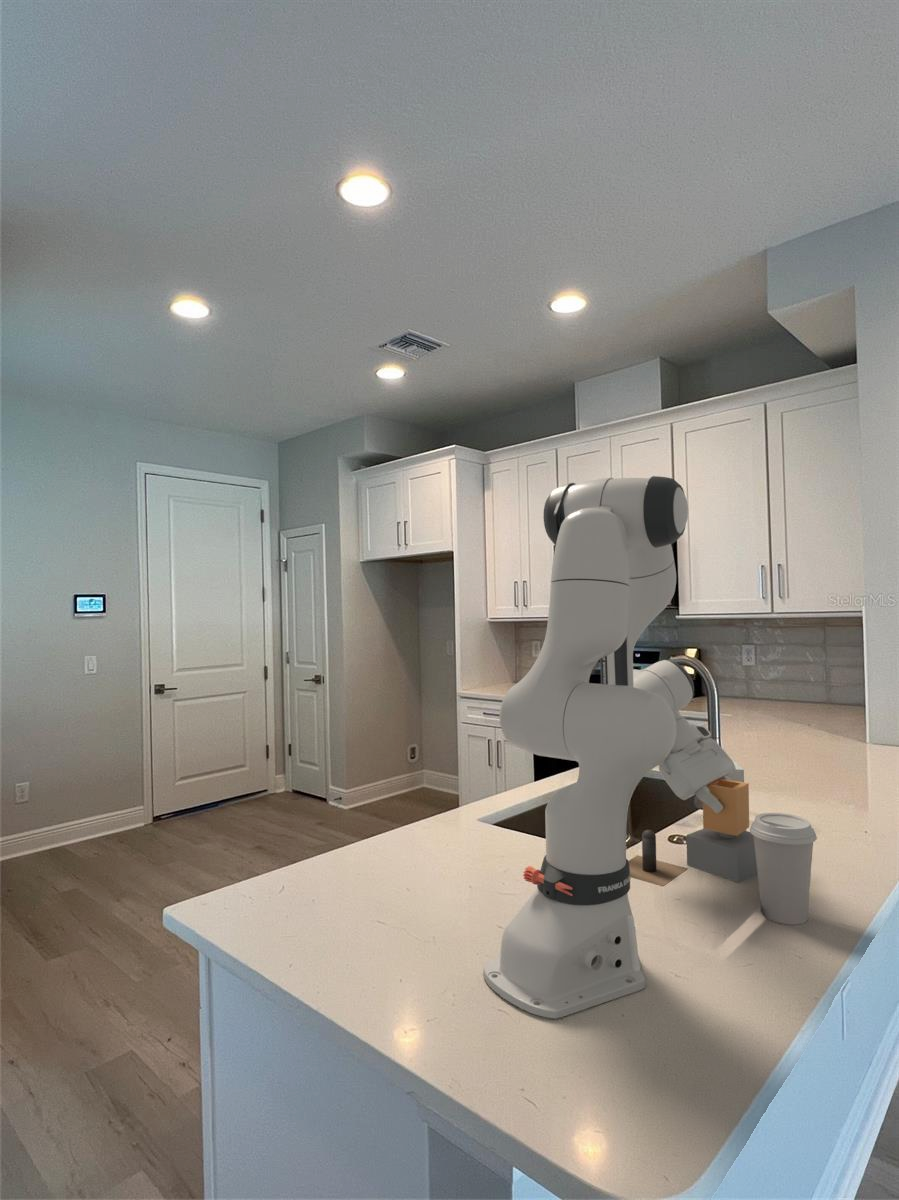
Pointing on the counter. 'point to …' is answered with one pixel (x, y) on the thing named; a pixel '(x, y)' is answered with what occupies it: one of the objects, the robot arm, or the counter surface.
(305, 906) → the counter surface
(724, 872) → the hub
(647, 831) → the stand
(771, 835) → the coffee cup
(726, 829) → the sleeve
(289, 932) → the counter surface
